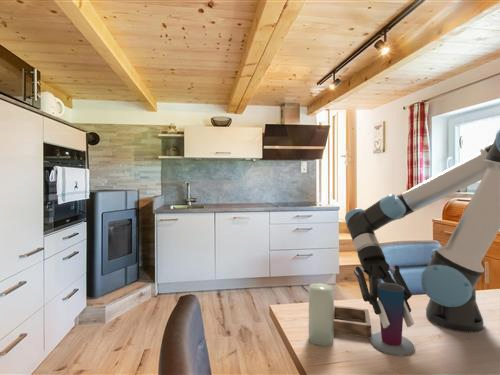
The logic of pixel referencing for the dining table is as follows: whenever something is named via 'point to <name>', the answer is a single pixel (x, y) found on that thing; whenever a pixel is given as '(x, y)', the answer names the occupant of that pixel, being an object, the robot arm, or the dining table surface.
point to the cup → (392, 311)
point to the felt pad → (392, 346)
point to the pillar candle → (321, 314)
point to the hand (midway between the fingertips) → (398, 325)
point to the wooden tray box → (350, 326)
